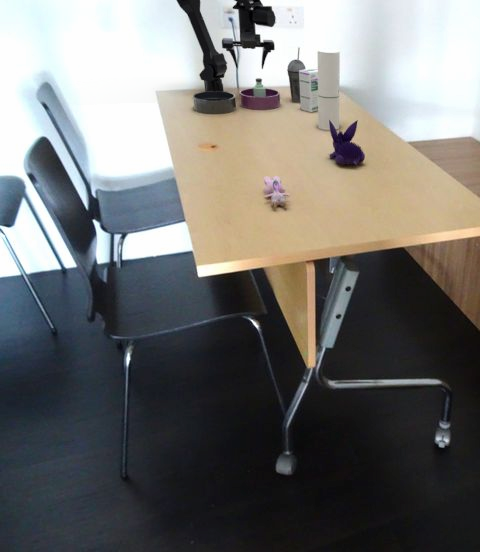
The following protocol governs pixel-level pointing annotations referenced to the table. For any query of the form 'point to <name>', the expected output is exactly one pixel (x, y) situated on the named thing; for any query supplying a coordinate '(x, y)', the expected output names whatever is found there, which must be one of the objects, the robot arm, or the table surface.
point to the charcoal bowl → (214, 102)
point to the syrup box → (309, 89)
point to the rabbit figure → (275, 191)
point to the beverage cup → (295, 78)
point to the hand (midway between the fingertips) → (249, 68)
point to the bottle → (259, 89)
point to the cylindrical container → (328, 88)
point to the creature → (346, 146)
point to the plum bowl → (259, 100)
